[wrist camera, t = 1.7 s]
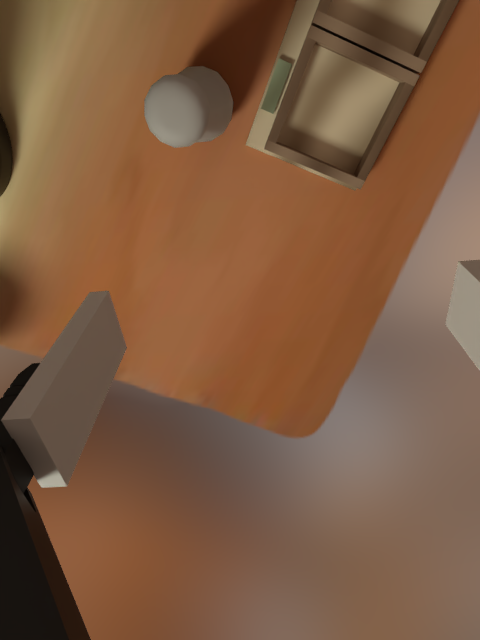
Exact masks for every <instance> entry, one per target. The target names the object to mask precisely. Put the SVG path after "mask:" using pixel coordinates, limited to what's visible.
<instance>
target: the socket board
mask: <svg viewBox="0 0 480 640" xmlns="http://www.w3.org/2000/svg"><path fill="white" fill-rule="evenodd" d="M458 1H459V0H297V1H296V4H295V7H294V10H293V13H292V16H291V18H290V21H289V24H288V27H287V30H286V32H285V35H284V38H283V41H282V44H281V47H280V49H279V52H278V55H277V58H276V61H275V63H274V66H273V69H272V72H271V75H270V78H269V80H268V83H267V86H266V89H265V92H264V95H263V97H262V100H261V103H260V106H259V109H258V111H257V114H256V117H255V120H254V123H253V126H252V128H251V131H250V134H249V137H248V140H247V142H246V145H247V146H250V147H252V148H255V149H257V150H259V151H262V152H264V153H266V154H269V155H271V156H274V157H276V158H278V159H281V160H283V161H286V162H288V163H290V164H293V165H295V166H298V167H300V168H302V169H305V170H307V171H309V172H312V173H314V174H317V175H319V176H321V177H324V178H326V179H329V180H331V181H333V182H336V183H338V184H341V185H343V186H345V187H348V188H350V189H353V190H356V188H358V189H361V188H362V186H363V184H364V182H365V180H366V178H367V176H368V174H369V172H370V170H371V168H372V166H373V165H374V163H375V161H376V159H377V157H378V155H379V153H380V151H381V149H382V147H383V145H384V143H385V141H386V140H387V138H388V136H389V134H390V132H391V130H392V128H393V126H394V124H395V122H396V120H397V118H398V117H399V115H400V113H401V111H402V109H403V107H404V105H405V103H406V101H407V99H408V97H409V95H410V94H411V92H412V90H413V88H414V86H415V84H416V82H417V80H418V78H419V75H417V74H416V73H421V72H422V70H423V69H424V67H425V65H426V63H427V61H428V59H429V57H430V55H431V53H432V51H433V49H434V47H435V46H436V44H437V42H438V40H439V38H440V36H441V34H442V32H443V30H444V28H445V26H446V24H447V23H448V21H449V19H450V17H451V15H452V13H453V11H454V9H455V7H456V5H457V3H458Z"/></svg>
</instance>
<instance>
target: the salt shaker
mask: <svg viewBox="0 0 480 640" xmlns="http://www.w3.org/2000/svg"><path fill="white" fill-rule="evenodd" d="M232 110H233V99H232V96H231V93H230V89H229V86H228V85H227V83H226V82H225V81H224V80H223V78H222V77H221V76H220V74H219V73H218V72H216V71H214V70H211V69H209V68H206V67H204V66H195V67H187V68H185V69H184V70H183V71H181V72H180V73H179V74H176V75H165V76H163V77H162V78H161V79H159V80H158V81H157V82H155V83H154V84H153V85H152V86H151V88H150V90H149V92H148V94H147V96H146V98H145V118H146V121H147V124H148V126H149V129H150V131H151V132H152V133H153V134H154V135H155V136H156V137H157V138H158V139H159V140H160V141H161V142H163V143H165V144H168V145H170V146H172V147H175V148H176V147H186V146H190V145H192V144H194V143H195V142H206V141H212V140H213V139H215V138H216V137H218V136H220V135H221V134H223V133H224V131H225V129H226V128H227V126H228V124H229V122H230V121H231V117H232Z"/></svg>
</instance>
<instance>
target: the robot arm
mask: <svg viewBox="0 0 480 640" xmlns="http://www.w3.org/2000/svg"><path fill="white" fill-rule="evenodd" d="M11 169H12V150H11V144H10V139H9V135H8V132H7V129H6V126H5V123H4V121H3V119H2V116H1V114H0V196H1V195H2V194H3V192H4V190H5V189H6V187H7V184H8V182H9V179H10V175H11ZM446 326H447V327H448V328H449V330H450V331H451V333H452V334H453V335H454V337H455V338H456V339H457V341H458V342H459V343H460V345H461V346H462V347H463V349H464V350H465V352H466V353H467V354H468V356H469V357H470V358H471V360H472V361H473V362H474V364H475V365H476V366H477V368H478V369H479V371H480V260H473V261H472V260H471V261H460V262H458V266H457V271H456V276H455V280H454V285H453V290H452V295H451V300H450V305H449V310H448V315H447V320H446ZM126 348H127V347H126V344H125V341H124V337H123V334H122V331H121V328H120V325H119V322H118V319H117V315H116V312H115V309H114V306H113V303H112V300H111V297H110V293H109V291H101V292H90V293H89V294H88V295H87V297H86V298H85V300H84V301H83V303H82V304H81V306H80V307H79V308H78V310H77V311H76V313H75V314H74V316H73V317H72V319H71V320H70V321H69V323H68V324H67V326H66V327H65V329H64V330H63V331H62V333H61V334H60V336H59V337H58V339H57V340H56V342H55V343H54V344H53V346H52V347H51V349H50V350H49V352H48V353H47V355H46V356H45V357H44V359H43V360H42V362H41V363H34V364H31V365H30V366H29V367H27V368H26V369H25V370H24V371H22V372H21V373H20V374H18V376H17V377H16V379H15V380H14V381H13V383H12V384H11V385H10V388H8V389H7V391H6V392H5V393H4V395H3V398H1V399H0V640H91V639H90V637H89V634H88V632H87V629H86V627H85V624H84V622H83V619H82V617H81V614H80V612H79V609H78V607H77V605H76V602H75V600H74V597H73V595H72V592H71V590H70V588H69V585H68V583H67V580H66V578H65V575H64V573H63V570H62V568H61V565H60V563H59V560H58V558H57V555H56V553H55V551H54V548H53V546H52V543H51V541H50V538H49V536H48V533H47V531H46V528H45V526H44V523H43V521H42V519H41V516H40V514H39V511H38V509H37V507H36V504H35V501H34V499H33V496H32V494H31V492H30V491H29V489H28V488H27V486H28V485H29V483H30V481H31V479H32V477H33V475H34V476H35V478H36V479H37V481H38V483H39V484H40V486H41V487H61V486H67V485H68V483H69V480H70V478H71V476H72V473H73V471H74V469H75V466H76V464H77V462H78V460H79V457H80V455H81V452H82V450H83V448H84V446H85V443H86V441H87V439H88V436H89V434H90V432H91V429H92V427H93V425H94V422H95V420H96V418H97V416H98V413H99V411H100V408H101V406H102V404H103V401H104V399H105V397H106V395H107V392H108V390H109V388H110V385H111V383H112V381H113V378H114V376H115V374H116V371H117V369H118V367H119V364H120V362H121V360H122V358H123V355H124V353H125V351H126Z"/></svg>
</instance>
